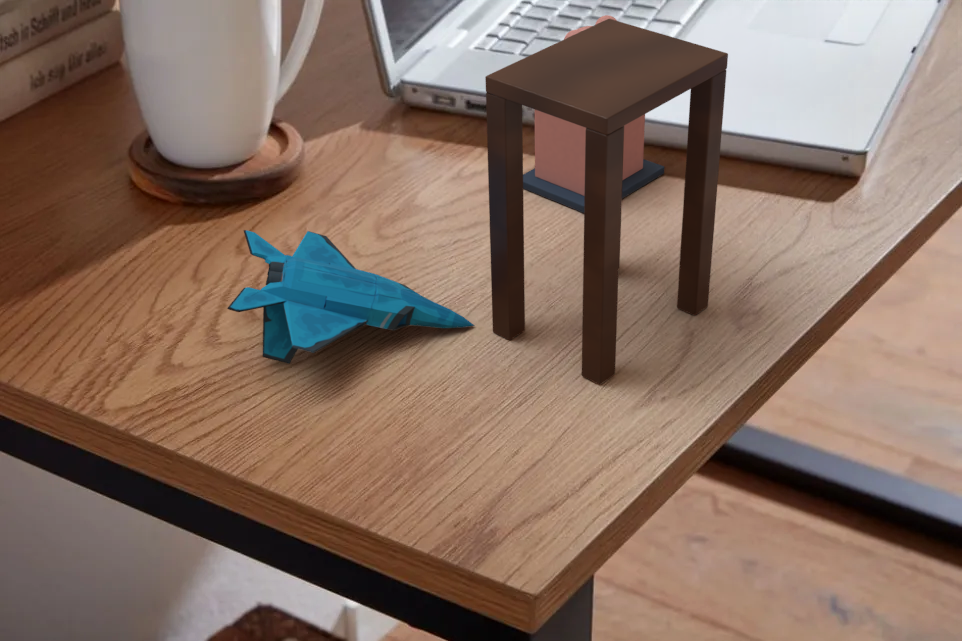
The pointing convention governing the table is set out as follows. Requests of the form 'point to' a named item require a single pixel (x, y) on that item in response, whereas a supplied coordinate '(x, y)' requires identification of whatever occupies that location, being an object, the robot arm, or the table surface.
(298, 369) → the table surface
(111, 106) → the table surface
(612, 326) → the wooden stool
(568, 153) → the pink block
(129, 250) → the table surface
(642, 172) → the mat
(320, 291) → the toy airplane
